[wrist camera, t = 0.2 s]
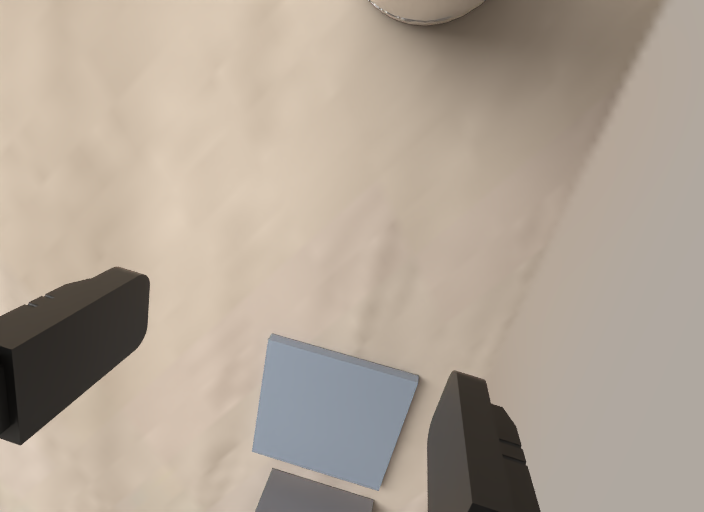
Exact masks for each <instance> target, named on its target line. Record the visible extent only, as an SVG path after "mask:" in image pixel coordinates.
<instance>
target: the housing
mask: <svg viewBox="0 0 704 512" xmlns="http://www.w3.org/2000/svg"><path fill="white" fill-rule="evenodd" d="M372 507H373V500H372V499H369V498H366V497H363V496H360V495H356V494H353V493H350V492H347V491H344V490H340V489H337V488H334V487H331V486H327V485H324V484H321V483H318V482H315V481H311V480H308V479H305V478H302V477H299V476H295V475H292V474H289V473H286V472H283V471H279V470H276V469H273V468H272V471H271V473H270V476H269V478H268V481H267V483H266V486H265V488H264V491H263V493H262V496H261V498H260V501H259V503H258V506H257V508H256V511H255V512H372Z"/></svg>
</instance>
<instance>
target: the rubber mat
mask: <svg viewBox="0 0 704 512" xmlns="http://www.w3.org/2000/svg"><path fill="white" fill-rule="evenodd" d="M418 377H419V376H418V375H414V374H411V373H407V372H404V371H400V370H397V369H393V368H390V367H387V366H383V365H380V364H376V363H373V362H369V361H366V360H362V359H359V358H355V357H352V356H348V355H345V354H341V353H338V352H334V351H331V350H327V349H324V348H320V347H317V346H313V345H310V344H306V343H303V342H299V341H296V340H292V339H289V338H285V337H282V336H278V335H275V334H271V336H270V338H269V339H268V345H267V352H266V359H265V366H264V373H263V379H262V386H261V393H260V400H259V407H258V414H257V421H256V428H255V435H254V442H253V448H252V452H255V453H258V454H261V455H265V456H268V457H271V458H274V459H277V460H281V461H284V462H287V463H290V464H294V465H297V466H300V467H303V468H306V469H310V470H313V471H316V472H319V473H323V474H326V475H329V476H332V477H335V478H339V479H342V480H345V481H348V482H352V483H355V484H358V485H361V486H364V487H368V488H371V489H374V490H377V491H379V488H380V486H381V483H382V480H383V477H384V475H385V472H386V469H387V467H388V464H389V461H390V458H391V456H392V453H393V450H394V447H395V445H396V442H397V439H398V437H399V434H400V431H401V428H402V426H403V423H404V420H405V417H406V415H407V412H408V409H409V407H410V404H411V401H412V398H413V396H414V393H415V390H416V387H417V385H418Z"/></svg>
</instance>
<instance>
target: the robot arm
mask: <svg viewBox="0 0 704 512" xmlns="http://www.w3.org/2000/svg"><path fill="white" fill-rule="evenodd" d="M368 1H369V2H370V3H371V4H373V5H374V6H375V7H376V8H377V9H379V10H380V11H382V12H383V13H385V14H386V15H388V16H389V17H391V18H393V19H396V20H399V21H401V22H404V23H407V24H414V25H424V26H427V25H434V24H441V23H446V22H449V21H451V20H454V19H456V18H459V17H462V16H464V15H465V14H467V13H468V12H470V11H471V10H473V9H475V8H476V7H478V6H479V5H481V4H482V3H483V2H484V1H485V0H368ZM149 290H150V282H149V278H148V277H147V276H146V275H144V274H140V273H137V272H134V271H131V270H127V269H124V268H121V267H114V268H111V269H109V270H107V271H105V272H103V273H101V274H99V275H97V276H95V277H94V278H92V279H86V280H82V281H78V282H73V283H69V284H65V285H63V286H61V287H59V288H57V289H55V290H53V291H51V292H49V293H47V294H46V295H45V296H44V297H43V296H41V297H39V298H37V299H35V300H33V301H31V302H29V304H28V305H25V304H24V305H22V306H20V307H18V308H16V309H14V310H12V311H10V312H8V313H6V314H4V315H2V316H0V438H1V439H4V440H6V441H9V442H12V443H15V444H18V445H22V444H23V443H24V442H25V441H27V440H28V439H29V438H30V437H31V436H33V435H34V434H35V433H36V432H37V431H39V430H40V429H41V428H42V427H43V426H45V425H46V424H47V423H48V422H49V421H51V420H52V419H53V418H54V417H55V416H57V415H58V414H59V413H60V412H61V411H63V410H64V409H65V408H66V407H67V406H69V405H70V404H71V403H72V402H73V401H75V400H76V399H77V398H78V397H79V396H81V395H82V394H83V393H84V392H85V391H87V390H88V389H89V388H90V387H91V386H93V385H94V384H95V383H96V382H97V381H99V380H100V379H101V378H102V377H103V376H105V375H106V374H107V373H108V372H109V371H111V370H112V369H113V368H114V367H115V366H117V365H118V364H119V363H120V362H121V361H123V360H124V359H125V358H126V357H127V356H129V355H130V354H131V353H132V352H133V351H135V350H136V349H137V348H138V346H139V345H140V344H141V342H142V340H143V339H144V336H145V334H146V331H147V325H148V307H149ZM427 466H428V512H540V508H539V505H538V501H537V498H536V494H535V491H534V487H533V484H532V480H531V477H530V473H529V470H528V467H527V466H526V460H525V456H524V452H523V450H522V449H521V442H520V439H519V435H518V432H517V428H516V426H515V425H514V423H513V421H512V420H511V419H510V417H509V416H508V414H507V413H506V411H505V410H504V409H503V407H500V406H497V405H493V404H491V403H490V398H489V393H488V389H487V384H486V381H485V380H484V379H481V378H478V377H474V376H471V375H468V374H465V373H461V372H458V371H453V372H452V373H451V375H450V376H449V379H448V381H447V384H446V386H445V388H444V391H443V393H442V396H441V398H440V401H439V403H438V406H437V408H436V410H435V413H434V415H433V418H432V421H431V424H430V428H429V434H428V442H427Z"/></svg>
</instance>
